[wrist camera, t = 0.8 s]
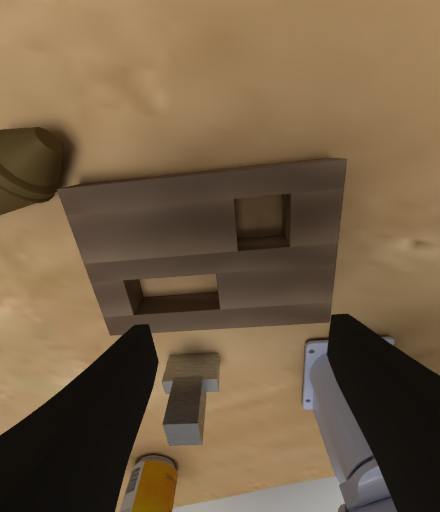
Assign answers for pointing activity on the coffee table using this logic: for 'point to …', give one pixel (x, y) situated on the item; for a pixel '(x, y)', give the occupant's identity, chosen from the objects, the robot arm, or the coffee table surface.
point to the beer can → (151, 486)
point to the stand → (211, 245)
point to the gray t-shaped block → (188, 395)
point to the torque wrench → (28, 167)
